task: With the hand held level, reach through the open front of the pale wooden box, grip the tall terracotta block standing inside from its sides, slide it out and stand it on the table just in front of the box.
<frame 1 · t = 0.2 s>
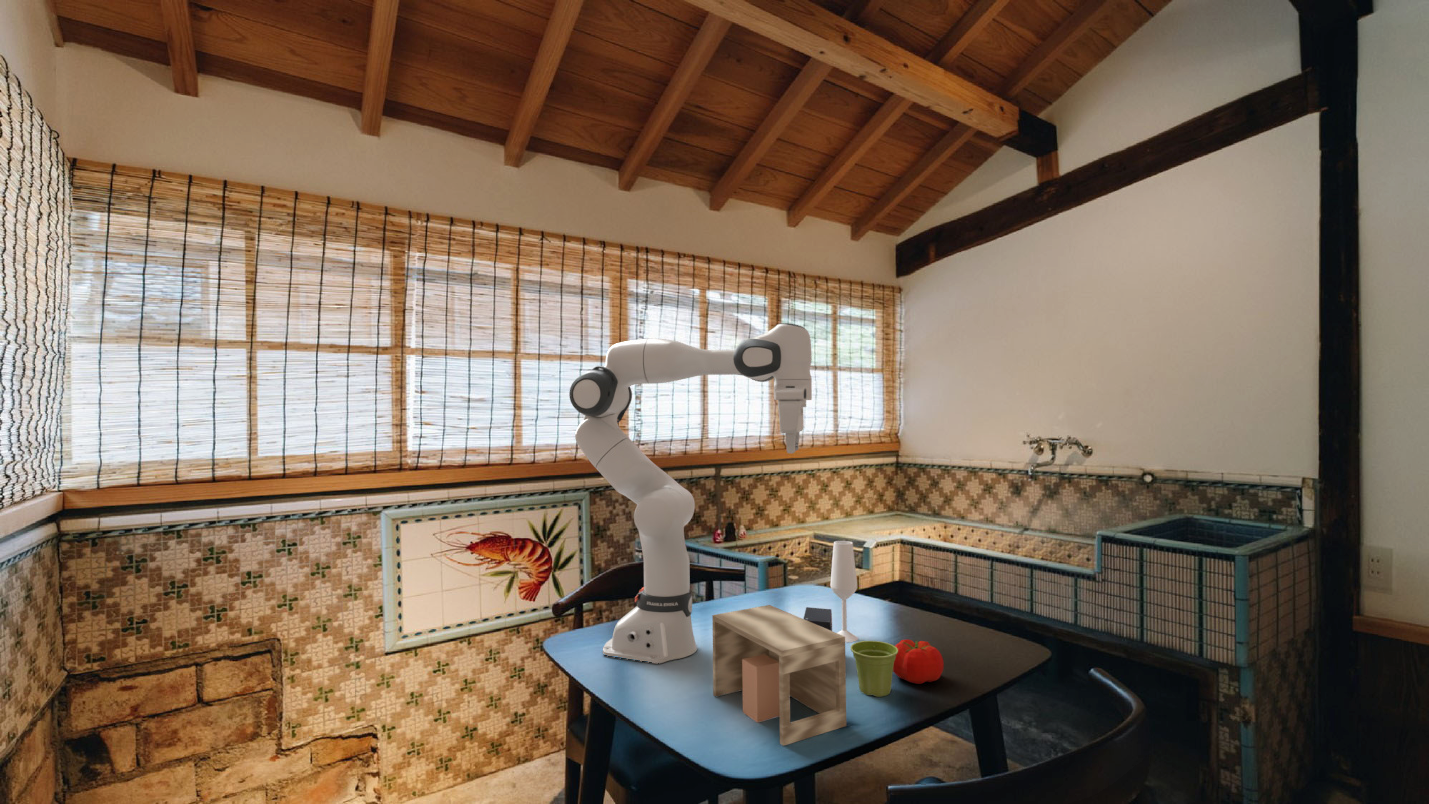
hand: (792, 451, 154), 48 cm above the table, tool pointing down, fingers open, 8 cm apart
plant pot: (874, 692, 134), on the table
tomato: (916, 679, 140), on the table
small box: (818, 660, 152), on the table
champagne flute: (844, 638, 166), on the table
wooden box: (776, 709, 126), on the table
terracotta block: (761, 714, 124), on the table
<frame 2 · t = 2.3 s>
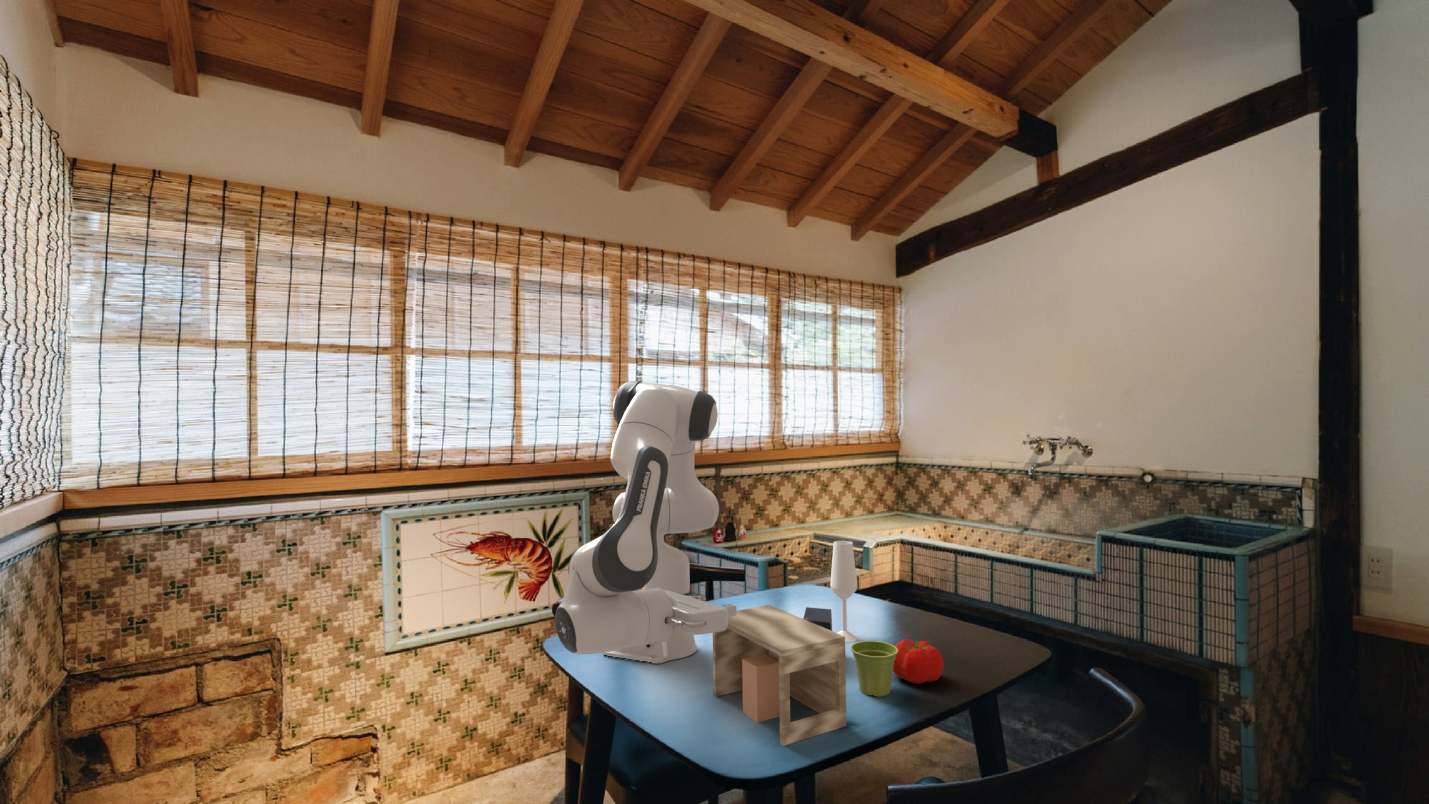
hand: (718, 605, 119), 22 cm above the table, tool horizontal, fingers open, 8 cm apart
nothing on the table moved.
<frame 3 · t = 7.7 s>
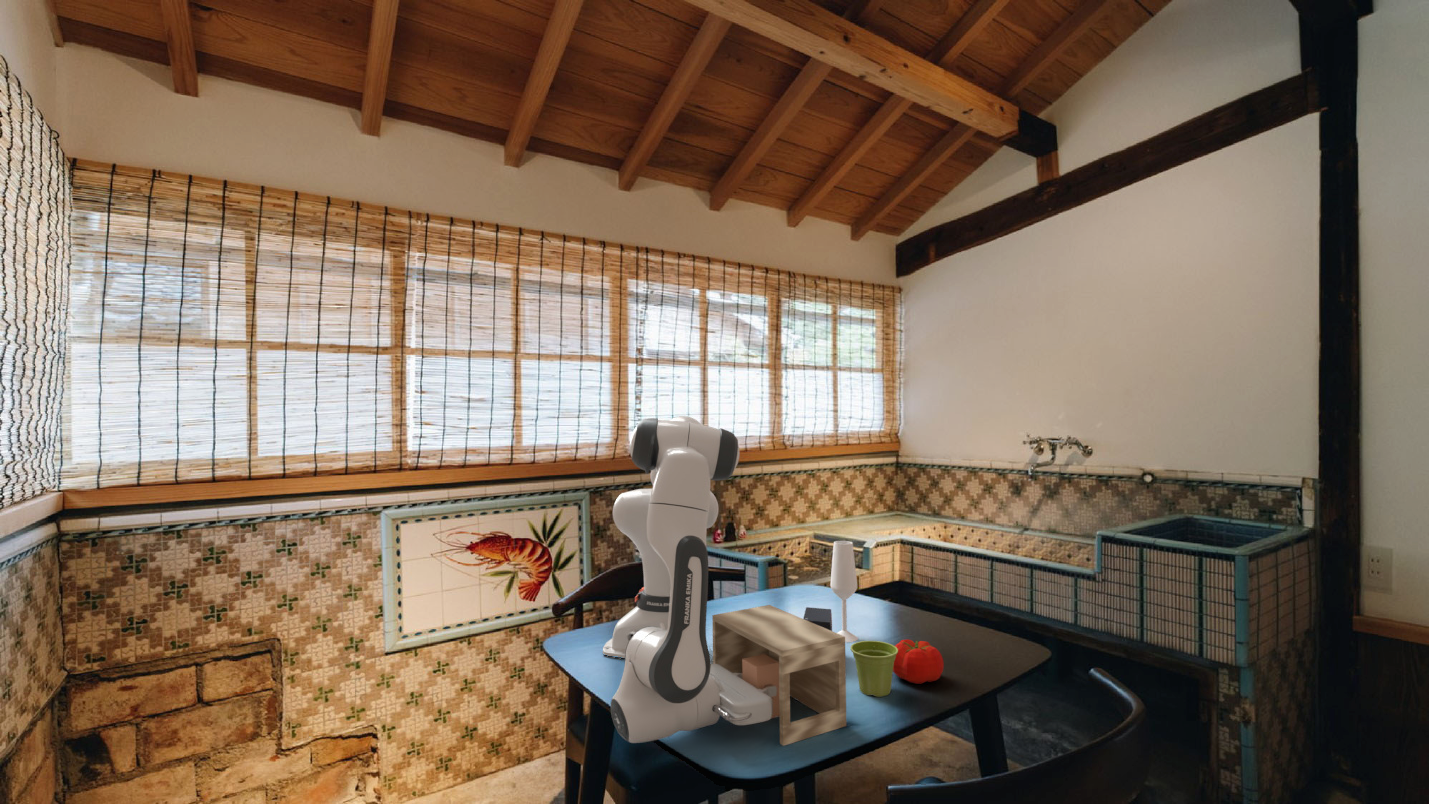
hand: (764, 683, 124), 6 cm above the table, tool horizontal, fingers closed on terracotta block, 5 cm apart
terracotta block: (761, 714, 124), on the table, touching gripper
everything else where it was.
when the fingers open (6 cm above the table, at t = 11.5 s): terracotta block stays where it is, on the table.
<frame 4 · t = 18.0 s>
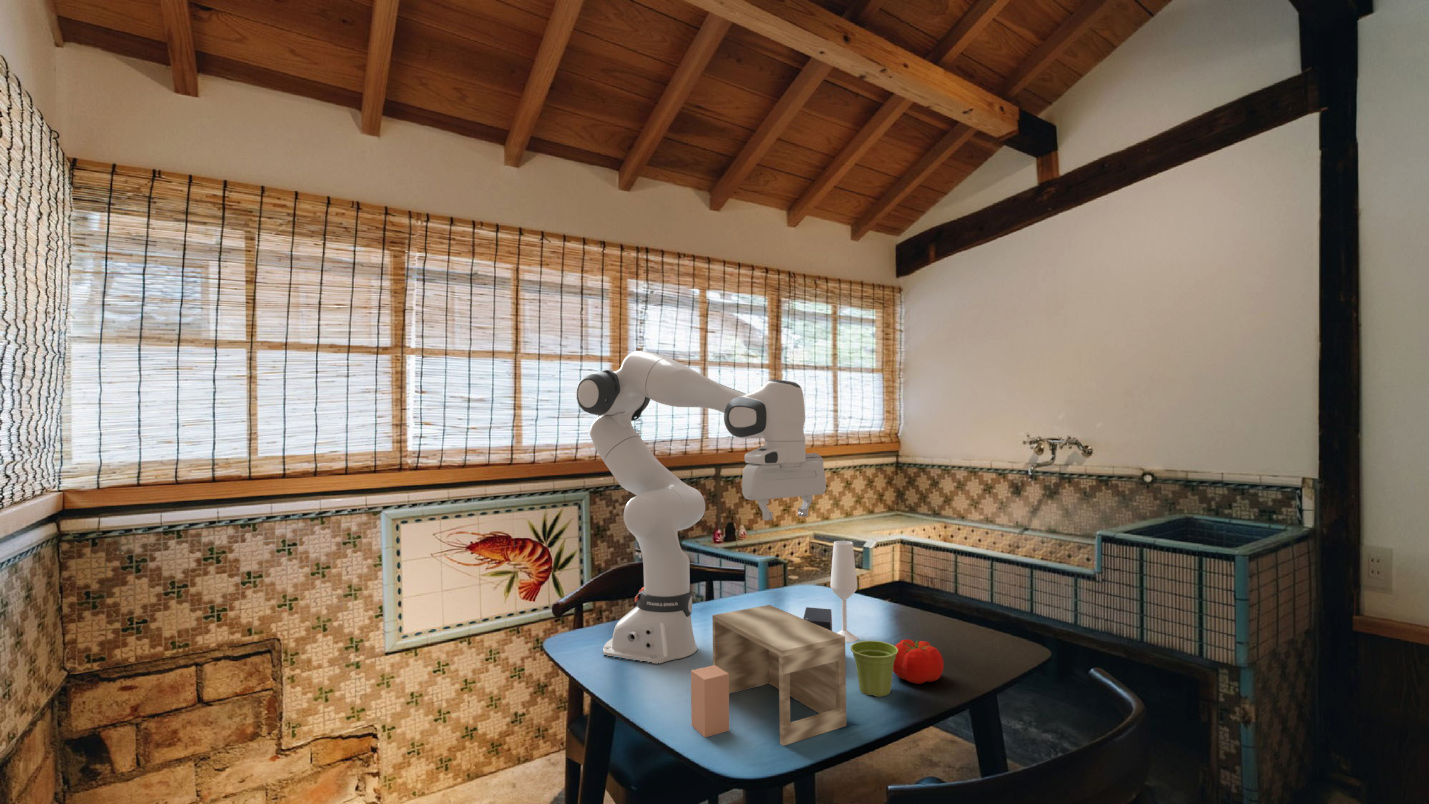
hand: (785, 518, 142), 34 cm above the table, tool pointing down, fingers open, 8 cm apart
terracotta block: (710, 728, 118), on the table
everything else where it was.
at the end: terracotta block inside the target area (2.3 cm from its centre), on the table; terracotta block tilted 0°; the gripper is holding nothing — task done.
